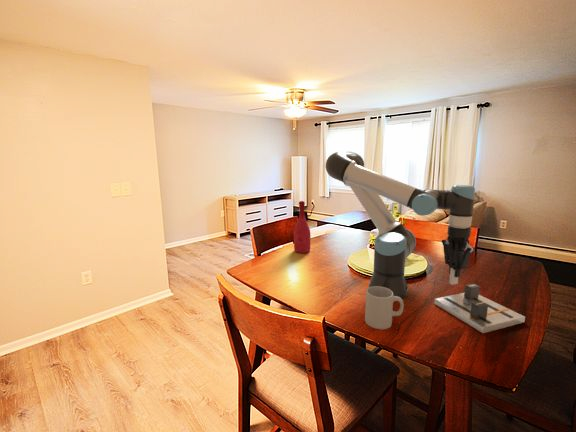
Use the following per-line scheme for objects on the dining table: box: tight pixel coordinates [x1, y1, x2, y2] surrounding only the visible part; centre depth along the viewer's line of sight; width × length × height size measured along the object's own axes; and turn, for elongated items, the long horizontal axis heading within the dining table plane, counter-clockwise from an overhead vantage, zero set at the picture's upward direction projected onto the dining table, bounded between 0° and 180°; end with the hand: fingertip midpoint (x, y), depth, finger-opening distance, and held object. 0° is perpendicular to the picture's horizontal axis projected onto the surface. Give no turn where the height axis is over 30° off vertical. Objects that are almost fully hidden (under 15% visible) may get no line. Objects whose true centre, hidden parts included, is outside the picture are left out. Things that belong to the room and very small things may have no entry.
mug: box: [364, 286, 405, 330], centre depth 92 cm, size 12×8×11 cm
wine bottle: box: [293, 200, 311, 254], centre depth 163 cm, size 10×10×30 cm
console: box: [433, 292, 526, 334], centre depth 97 cm, size 18×19×7 cm
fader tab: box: [463, 283, 481, 299], centre depth 103 cm, size 4×2×5 cm, turn 107°
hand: (453, 283), depth 111 cm, fingers closed
